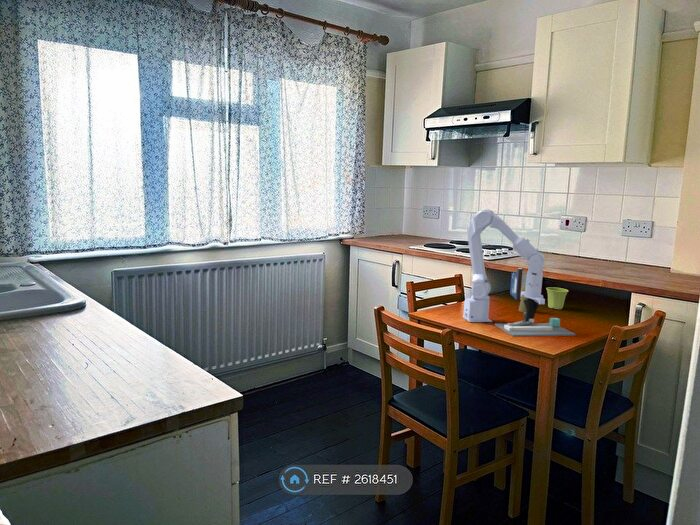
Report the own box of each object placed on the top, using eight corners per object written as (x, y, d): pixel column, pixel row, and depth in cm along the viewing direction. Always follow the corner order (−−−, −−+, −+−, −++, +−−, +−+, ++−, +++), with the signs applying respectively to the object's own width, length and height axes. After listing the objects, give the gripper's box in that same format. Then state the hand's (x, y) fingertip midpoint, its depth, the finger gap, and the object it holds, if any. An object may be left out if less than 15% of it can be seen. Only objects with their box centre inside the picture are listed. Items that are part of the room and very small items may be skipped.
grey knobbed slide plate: (512, 336, 190) (513, 329, 190) (494, 325, 205) (494, 319, 204) (575, 335, 194) (576, 329, 194) (553, 324, 209) (553, 318, 209)
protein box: (530, 294, 267) (533, 264, 265) (538, 301, 252) (541, 269, 250) (509, 293, 268) (512, 263, 266) (515, 300, 253) (518, 268, 251)
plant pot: (559, 305, 245) (561, 287, 244) (570, 310, 236) (572, 291, 234) (540, 305, 243) (542, 287, 242) (551, 310, 234) (553, 291, 233)
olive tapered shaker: (533, 313, 227) (536, 288, 225) (519, 312, 228) (521, 287, 226) (531, 310, 233) (534, 285, 231) (517, 309, 234) (519, 284, 232)
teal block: (552, 326, 203) (553, 319, 202) (549, 324, 205) (549, 317, 205) (559, 326, 203) (560, 319, 203) (556, 324, 206) (556, 317, 205)
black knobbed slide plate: (515, 327, 198) (516, 316, 198) (509, 326, 200) (510, 315, 199) (534, 322, 208) (535, 311, 207) (529, 321, 209) (530, 310, 209)
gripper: (553, 287, 195) (550, 323, 197) (533, 280, 209) (530, 313, 211) (536, 287, 194) (532, 323, 196) (517, 280, 208) (514, 313, 210)
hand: (530, 318), depth 204 cm, fingers closed
